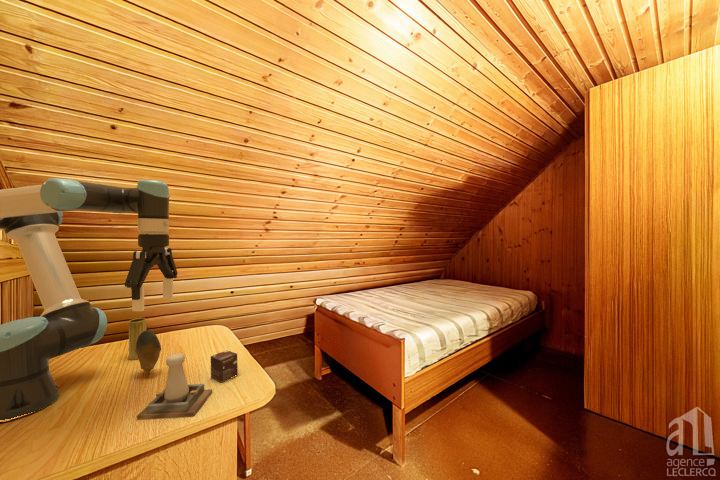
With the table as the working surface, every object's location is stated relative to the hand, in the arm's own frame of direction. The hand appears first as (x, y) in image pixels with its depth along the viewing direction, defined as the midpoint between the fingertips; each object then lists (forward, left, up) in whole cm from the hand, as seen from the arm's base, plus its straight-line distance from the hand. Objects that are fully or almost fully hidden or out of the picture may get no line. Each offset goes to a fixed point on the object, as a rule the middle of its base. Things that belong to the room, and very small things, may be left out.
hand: (154, 304), depth 86 cm
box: (+17, +7, -27) cm, 32 cm away
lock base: (+10, -8, -26) cm, 29 cm away
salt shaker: (+10, -8, -26) cm, 29 cm away
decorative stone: (-9, +11, -27) cm, 30 cm away
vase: (-22, +26, -27) cm, 43 cm away
